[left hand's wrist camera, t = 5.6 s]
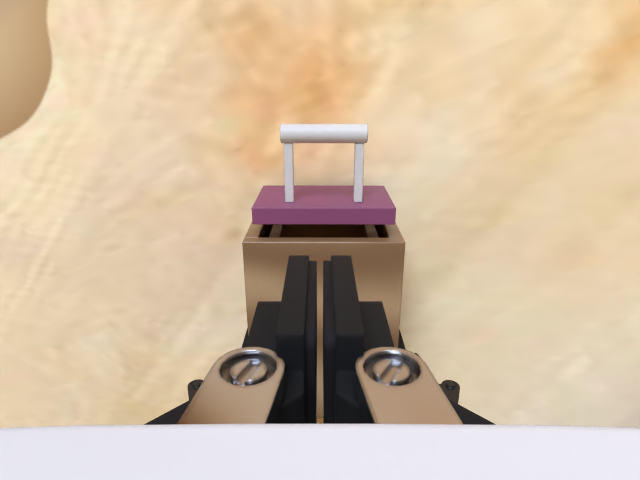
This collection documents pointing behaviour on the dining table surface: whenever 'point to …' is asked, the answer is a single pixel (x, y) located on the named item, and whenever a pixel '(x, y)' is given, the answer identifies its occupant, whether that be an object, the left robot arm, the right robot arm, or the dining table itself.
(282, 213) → the drawer
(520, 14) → the dining table surface
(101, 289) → the dining table surface
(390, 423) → the left robot arm
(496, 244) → the dining table surface
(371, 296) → the tan storage bin
